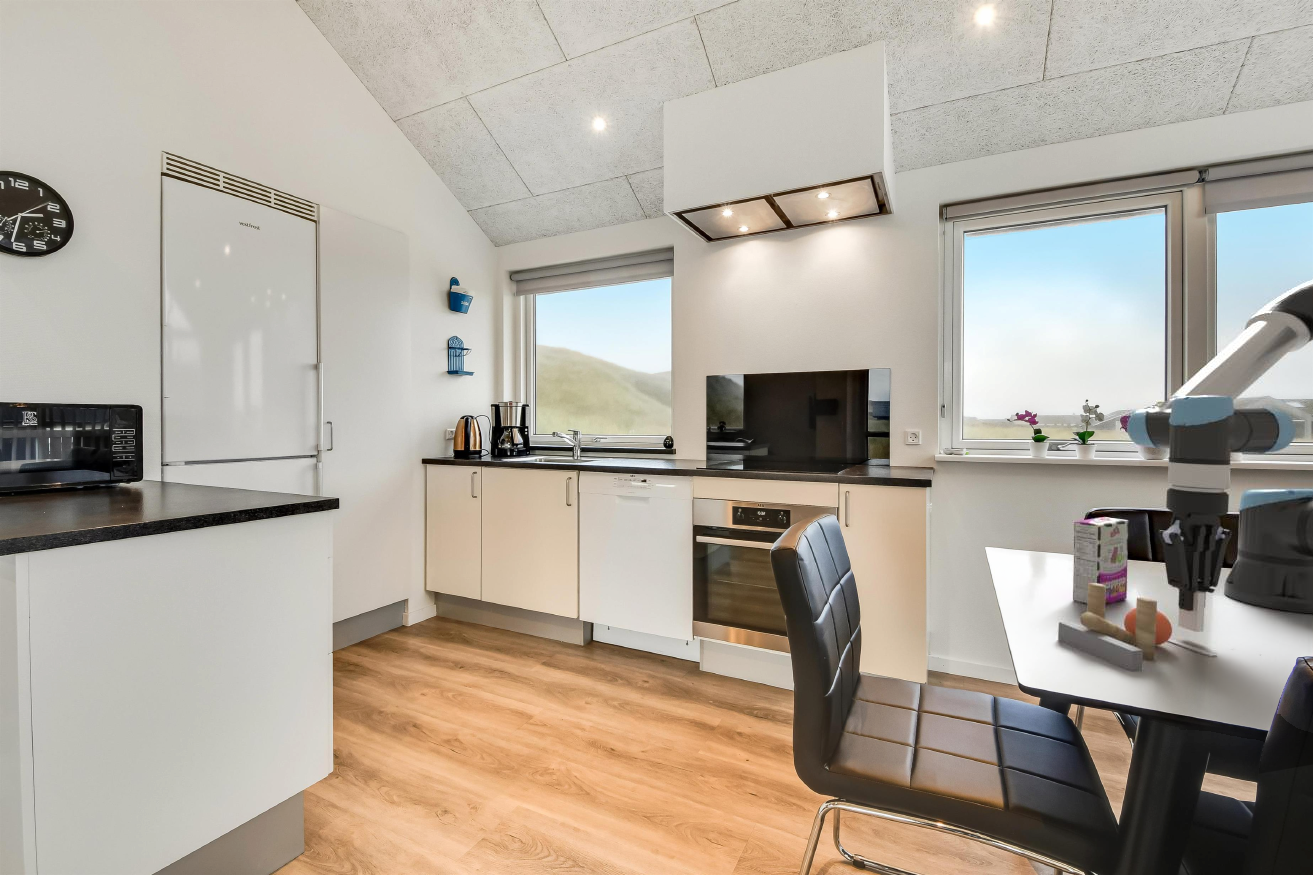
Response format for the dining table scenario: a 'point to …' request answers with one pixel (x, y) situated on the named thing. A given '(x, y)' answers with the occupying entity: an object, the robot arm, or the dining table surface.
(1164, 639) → the ball
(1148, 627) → the back pin left
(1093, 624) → the front pin
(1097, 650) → the rail
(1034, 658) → the dining table surface
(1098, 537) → the candy bar box
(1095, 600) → the back pin right
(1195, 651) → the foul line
